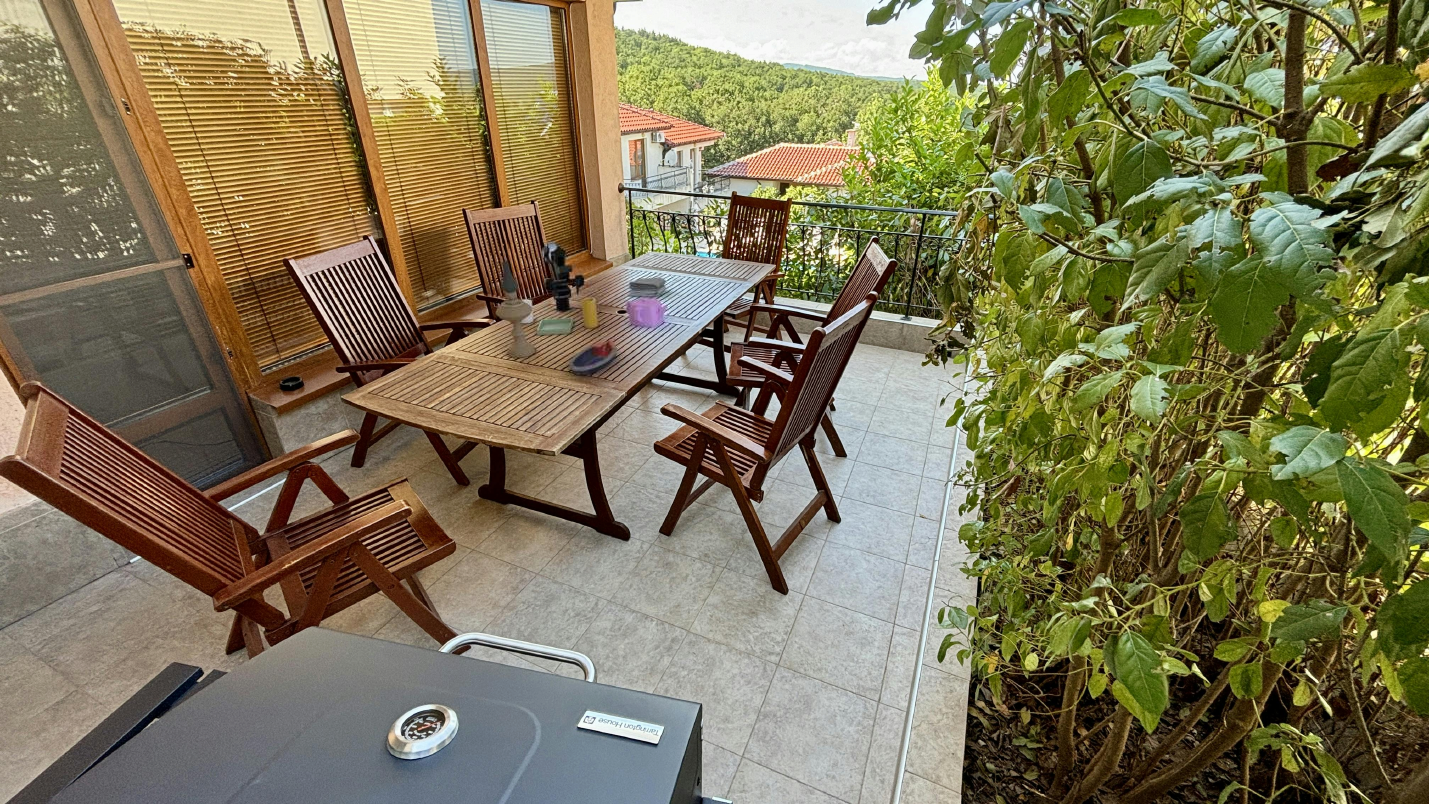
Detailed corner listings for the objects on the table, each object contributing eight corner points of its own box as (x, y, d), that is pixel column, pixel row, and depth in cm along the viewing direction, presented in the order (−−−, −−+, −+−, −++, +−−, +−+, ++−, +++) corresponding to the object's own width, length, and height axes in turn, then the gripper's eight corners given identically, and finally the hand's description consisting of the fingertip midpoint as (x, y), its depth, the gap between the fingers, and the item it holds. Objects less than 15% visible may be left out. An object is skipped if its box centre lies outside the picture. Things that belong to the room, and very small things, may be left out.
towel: (659, 297, 329) (658, 283, 326) (627, 296, 333) (626, 282, 329) (666, 289, 342) (666, 276, 339) (636, 288, 346) (635, 275, 342)
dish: (559, 376, 239) (557, 364, 237) (598, 348, 265) (596, 337, 262) (593, 380, 234) (591, 369, 232) (629, 352, 260) (628, 341, 257)
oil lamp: (496, 356, 258) (477, 265, 240) (518, 344, 271) (501, 256, 252) (526, 360, 254) (508, 267, 235) (546, 348, 266) (531, 258, 248)
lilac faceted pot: (625, 319, 297) (623, 295, 292) (657, 314, 303) (656, 291, 298) (635, 330, 283) (633, 305, 278) (669, 324, 289) (667, 300, 284)
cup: (591, 322, 295) (588, 297, 289) (601, 324, 292) (598, 299, 286) (581, 326, 290) (578, 300, 284) (591, 328, 287) (588, 302, 281)
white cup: (537, 318, 302) (534, 299, 298) (531, 324, 295) (528, 304, 291) (522, 318, 303) (518, 299, 298) (516, 323, 296) (512, 304, 291)
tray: (542, 324, 295) (541, 319, 293) (573, 322, 296) (572, 317, 295) (537, 335, 281) (536, 330, 280) (569, 333, 282) (569, 328, 281)
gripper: (541, 262, 284) (548, 287, 278) (580, 257, 290) (587, 282, 284) (542, 277, 293) (549, 302, 287) (580, 272, 300) (587, 297, 293)
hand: (568, 295), depth 288 cm, fingers open, 9 cm apart
